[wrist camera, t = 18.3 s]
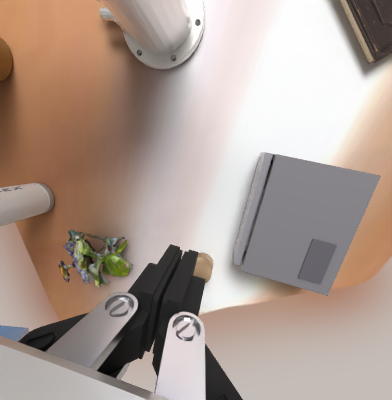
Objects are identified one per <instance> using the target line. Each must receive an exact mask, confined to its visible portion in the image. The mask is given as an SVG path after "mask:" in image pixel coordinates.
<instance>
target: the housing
mask: <svg viewBox="0 0 392 400" xmlns="http://www.w3.org/2000/svg"><path fill="white" fill-rule="evenodd" d="M270 164H272V167H271V171H270V174H269V177H268V181H267V184H266V187H265V191H264V194H263V197H262V201H261V204H260V207H259V211H258V214H257V217H256V221H255V224H254V227H253V231H252V234H251V238H250V241H249V244H248V248H247V251H244V254H243V257H242V261H241V270H242V271H243V272H247V273H250V274H254V275H257V276H261V277H264V278H268V279H271V280H275V281H278V282H281V283H285V284H288V285H292V286H295V287H299V288H302V289H306V290H309V291H313V292H316V293H320V294H323V295H326V296H328V294H329V291H330V289H331V287H332V285H333V282H334V280H335V278H336V276H337V273H338V271H339V269H340V267H341V264H342V262H343V260H344V258H345V255H346V253H347V251H348V249H349V246H350V244H351V242H352V240H353V237H354V235H355V233H356V231H357V228H358V226H359V224H360V222H361V219H362V217H363V215H364V213H365V210H366V208H367V206H368V204H369V201H370V199H371V197H372V195H373V192H374V190H375V188H376V186H377V183H378V181H379V179H380V177H381V176H379V175H374V174H370V173H365V172H360V171H355V170H350V169H345V168H340V167H336V166H331V165H326V164H321V163H316V162H311V161H306V160H301V159H297V158H292V157H287V156H282V155H277V154H273V156H272V159H271V163H270Z"/></svg>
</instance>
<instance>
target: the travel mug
mask: <svg viewBox="0 0 392 400" xmlns="http://www.w3.org/2000/svg"><path fill="white" fill-rule="evenodd" d="M53 206H54V195H53V193H52V191H51V190H50V188H49V187H48V186H46V185H45V184H42V183H31V184H24V185H16V186H9V187H2V188H0V226H3V225H6V224H9V223H13V222H16V221H19V220H23V219H26V218H29V217H33V216H36V215H39V214H42V213H46V212H48V211H50V210H51V209H52V208H53Z"/></svg>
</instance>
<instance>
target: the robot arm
mask: <svg viewBox="0 0 392 400" xmlns="http://www.w3.org/2000/svg"><path fill="white" fill-rule="evenodd" d="M97 1H98V2H102V3H103V4H104V5H105V6H106V7H107V8H103V7H102V8H100V15H101V18H102V19H103V20H105V21H115V22H116V23H117V24H118V25H119V26H120V28H121V29H122V30H123V35H124V38H125V41H126V43H127V45H128V47H129V49H130V50H131V52H132V53H133V54H134V55H135V57H136V58H137V59H138V60H140V61H141V62H142V63H143V64H145V65H146V66H149V67H151V68H154V69H160V70H161V69H170V68H173V67H176V66H178V65H180V64H182V63H183V62H184V61H185V60H187V59H188V58H189V57H190V56H191V54H192V53H193V52H194V51H195V49H196V47H197V46H198V44H199V42H200V39H201V37H202V34H203V30H204V25H205V9H204V2H203V0H97ZM198 25H199V26H198ZM141 54H142V55H141ZM174 59H176V60H175V61H174ZM198 253H199V252H196V251H192V250H189V252H186V251H185V253H184V255H183V257H182V250H180V247H178V246H174V245H170V246H169V247H168V249H167V250H166V252H165V253H164V255H163V256H162V258H161V259H160V261H159V262H158V264H157V265H156V264H153V263H149V264H148V265H147V267H146V268H145V269H144V271H143V272H142V273H141V275H140V276H139V277H138V279H137V280H136V281H135V283H134V284H133V286H132V287H131V288H130V290H129V291H128V292H127V293H126V292H119V293H114V294H111V295H109V296H108V297H106V298H105V299H104V300H103V301H102V302H101V303H99V304H98V305H97V306H96V307H95V308H94V309H93V310H92V311H90V312H89V313H86V314H83V315H79V316H76V317H72V318H69V319H66V320H62V321H59V322H56V323H52V324H49V325H46V326H42V327H40V328H37V329H35V330H33V331H31V332H29V331H28V328H22V327H12V326H1V325H0V400H243V399H242V398H241V396H240V395H239V393H238V392H237V390H236V389H235V387H234V386H233V384H232V383H231V381H230V380H229V378H228V377H227V376H226V374H225V372H224V371H223V369H222V368H221V366H220V365H219V363H218V362H217V360H216V359H215V357H214V356H213V354H212V353H211V351H210V350H209V348H208V347H207V345H206V344H205V329H204V325H203V323H202V321H201V320H200V319H199V318H198V314H199V309H200V304H201V299H202V295H203V290H204V285H205V281H206V279H203V278H200V277H197V276H193V275H194V270H195V266H196V262H197V257H198ZM181 257H182V259H181ZM154 340H155V342H154ZM153 342H154V348H153V354H154V357H153V363H152V364H153V367H154V369H155V372H156V374H157V382H156V387H155V392H154V393H153V392H150V391H147V390H145V389H142V388H140V387H137V386H134V385H132V384H129V383H126V382H124V381H121V378H122V376H123V375H124V373H125V372H126V370H127V368H128V366H129V362H132V361H134V360H136V359H138V358H139V359H142V357H143V355H144V352H145V351H147V352H149V351H150V349H151V347H152V344H153Z"/></svg>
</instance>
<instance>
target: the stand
mask: <svg viewBox="0 0 392 400" xmlns="http://www.w3.org/2000/svg"><path fill="white" fill-rule="evenodd" d="M212 268H213V260H212V258H211V257H210V256H209V255H207V254H205V253H198V257H197V262H196V266H195V270H194V275H193V276H197V277H200V278H203V279H206V281H205V283H206V282H208V281H209V279H210V277H211V273H212Z"/></svg>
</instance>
